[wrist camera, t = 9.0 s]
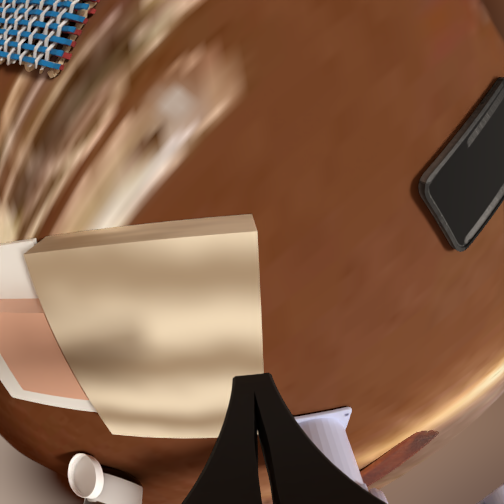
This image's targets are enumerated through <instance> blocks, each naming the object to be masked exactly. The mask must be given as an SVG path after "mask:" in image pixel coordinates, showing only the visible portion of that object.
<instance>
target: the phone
mask: <svg viewBox="0 0 504 504" xmlns="http://www.w3.org/2000/svg"><path fill="white" fill-rule="evenodd" d="M418 189H419V194H420V196H421V198H422V199H423V201H424V202H425V204H426V205H427V204H428V205H427V207H428V208H429V210H430V212H431V213H432V215H433V216H434V218H435V220H436V221H437V223H438V225H439V226H440V228H441V230H442V231H443V233H444V235H445V237H446V238H447V240H448V242H449V244H450V245H451V246H452V247H453V248H454V249H456V250H457V251H460V252H461V251H464V250H466V249H467V248H468V247H469V246H470V245H471V243H472V242H473V241H474V240H475V238H476V237H477V236H478V234H479V233H480V232H481V231H482V229H483V228H484V227H485V225H486V224H487V223H488V221H489V220H490V219H491V217H492V216H493V214H494V213H495V212H496V210H497V209H498V207H499V206H500V204H501V203H502V202H503V200H504V77H499V78H498V79H497V81H496V82H495V83H494V85H493V86H492V88H491V89H490V90H489V92H488V93H487V95H486V96H485V97H484V99H483V100H482V101H481V103H480V104H479V105H478V107H477V108H476V109H475V111H474V112H473V113H472V115H471V116H470V117H469V118H468V120H467V121H466V122H465V124H464V125H463V126H462V127H461V129H460V130H459V131H458V133H457V134H456V135H455V136H454V138H453V139H452V140H451V141H450V142H449V144H448V145H447V146H446V147H445V149H444V150H443V151H442V152H441V153H440V155H439V156H438V157H437V158H436V159H435V161H434V162H433V163H432V164H431V165H430V166H429V168H428V169H427V170H426V171H425V172H424V173H423V175H422V176H421V178H420V181H419V187H418Z"/></svg>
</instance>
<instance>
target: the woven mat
mask: <svg viewBox="0 0 504 504" xmlns="http://www.w3.org/2000/svg"><path fill="white" fill-rule="evenodd" d="M82 1H86V2H85V3H81V2H82ZM99 2H100V0H74V1H73V0H0V5H1V7H0V17H1V16H2V18H0V64H2V63H3V62H5V61H6V59H7V63H6V64H7V65H10V64H11V63H15V62H16V61H17V60H19V64H20V65H21V64H23V65H25V70H26V71H27V72H30V71H32V70H34V64H35V68H36V69H37V65H42V66H41V68H40V71H39V73H40V74H42V72H43V70H44V69H45V67H50V68H51V69H50V70H49V71H48V72H47V73H48V75H49V77H50V78H53V77H55V76H56V75H57V74H58V73H59V72H60V70H63V68H64V65H63V63H64V61H65V59H69V60H70V58H71V56H72V54H70V53H69V51H70V49H71V47H75V45H76V42H75V39H76V37H77V35H78V36H80V34H81V32H82V31H81V28H82V26H83V25H84V24H86V23H87V21H88V19H87V15H88V14H94V13H95V11H96V9H94V8H92V7H94V6H95V5H96V3H99ZM16 5H18V7H17V8H15V6H16ZM35 6H36V8H35V9H33V10H31V9H32V8H33V7H35ZM43 7H44V8H43ZM56 9H57V10H56ZM52 10H53V11H52ZM67 10H68V12H66V11H67ZM75 12H77V15H75ZM19 15H20V16H19ZM18 16H19V17H18ZM28 16H31V17H30V19H29V20H28ZM45 19H49V21H48V23H45ZM35 20H36V21H35ZM69 22H76V24H75V26H74V27H73V26H67V25H68V24H69ZM13 26H14V30H10V29H11V28H12V27H13ZM31 28H35V29H34V31H33V32H31ZM41 29H44V31H43V33H42V34H39V33H40V31H41ZM61 33H63V34H70V35H69V37H68V38H67V39H66V38H62V37H61ZM7 36H10V37H9V38H8V39H7ZM27 39H28V43H23V42H24V41H25V40H27ZM36 39H37V40H39V42H38V43H37V45H34V43H35V41H36ZM49 42H51V43H50V46H49V47H48V44H49ZM57 44H61V45H64V46H63V48H62V50H57V49H55V48H56V46H57ZM3 47H4V52H3V51H1V50H2V48H3ZM21 49H25V51H24V52H23V53H22V54H21V55H20V51H21ZM30 51H33V52H31V53H30ZM29 53H30V54H29ZM44 54H45V58H44V60H43V59H41V58H42V57H43V56H44ZM52 55H54V56H58V59H57V61H56V63H55V62H51V61H49V59H50V57H51V56H52Z"/></svg>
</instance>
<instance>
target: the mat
mask: <svg viewBox="0 0 504 504" xmlns="http://www.w3.org/2000/svg"><path fill="white" fill-rule="evenodd" d="M36 244H37V240H36V238H33V239H26V240H20V241H14V242H8V243H2V244H0V299H32V298H38V295H37V293H36V290H35V287H34V285H33V282H32V279H31V276H30V273H29V270H28V267H27V264H26V261H25V258H24V254H25V253H26V252H27V251H28V250H29V249H31V248H32V247H33V246H35V245H36ZM0 380H1V382H2V383H3V385H4V386H5V388H6V389H7V390H8V392H9V393H10V395H11V396H12V397H14V398H18V399H22V400H27V401H31V402H36V403H41V404H46V405H51V406H57V407H63V408H69V409H76V410H83V411H91V412H97V411H96V409H95V408H94V406H93V405H92V403H91V402H90V400H81V399H73V398H66V397H59V396H53V395H47V394H41V393H36V392H30V391H26V390H23V389H22V388H21V386H20V385H19V383H18V382H17V380H16V379H15V377H14V375H13V374H12V372H11V371H10V369H9V367H8V366H7V364H6V362H5V361H4V359H3V357H2V356H1V354H0Z"/></svg>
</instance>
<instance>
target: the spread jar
mask: <svg viewBox="0 0 504 504" xmlns="http://www.w3.org/2000/svg"><path fill="white" fill-rule="evenodd" d="M68 479H69V483H70V486H71V488H72V490H73V491H74V492H75V493H76V494H77V495H78V496H80V497H83V498H85V500H84V504H142V493H143V490H142V484H141V483H140V482H139V481H138V480H137V479H136V478H135V477H133V476H132V475H130V474H128V473H126V472H123V471H121V470H118V469H114V468H110V467H103V466H101V465H100V464H99V462H98V461H97V459H96V458H94V457H93V456H91V455H87V454H84V453H78V454H76V455H74V456H73V458H72V459H71V461H70V463H69V467H68Z"/></svg>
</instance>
